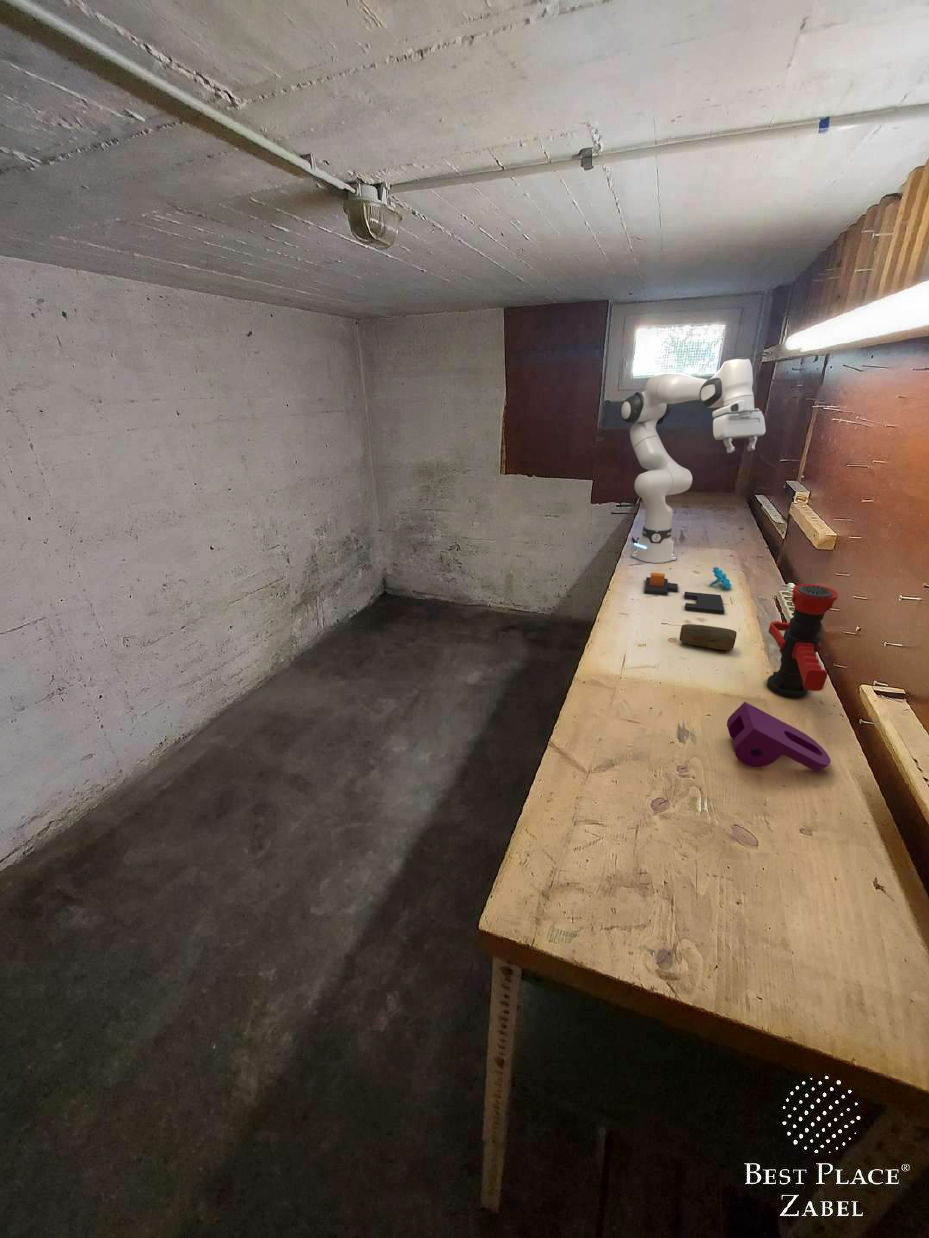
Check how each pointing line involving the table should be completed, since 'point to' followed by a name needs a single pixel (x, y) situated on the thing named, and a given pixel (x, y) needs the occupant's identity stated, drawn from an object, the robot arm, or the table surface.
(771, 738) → the mounting bracket
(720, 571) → the gear
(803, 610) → the fire hose nozzle
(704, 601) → the socket pad
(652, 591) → the pad
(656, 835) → the table surface
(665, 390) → the robot arm
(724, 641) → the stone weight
